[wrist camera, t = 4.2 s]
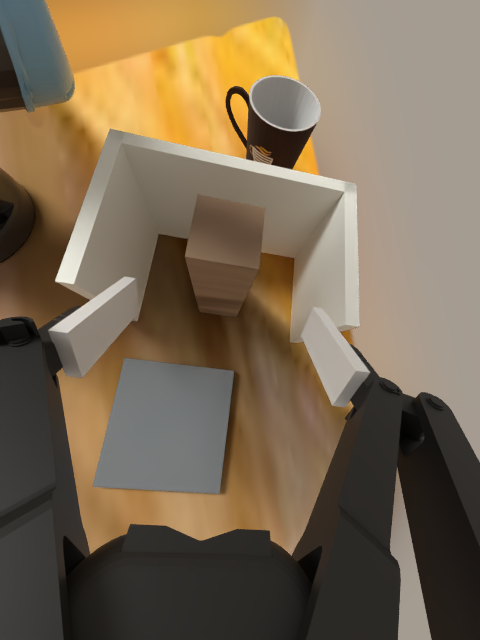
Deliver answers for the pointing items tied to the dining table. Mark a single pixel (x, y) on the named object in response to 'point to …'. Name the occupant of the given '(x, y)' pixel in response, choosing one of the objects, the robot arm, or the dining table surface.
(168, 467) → the coaster
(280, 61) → the dining table surface
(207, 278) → the walnut block
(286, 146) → the coffee mug
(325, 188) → the cubby
